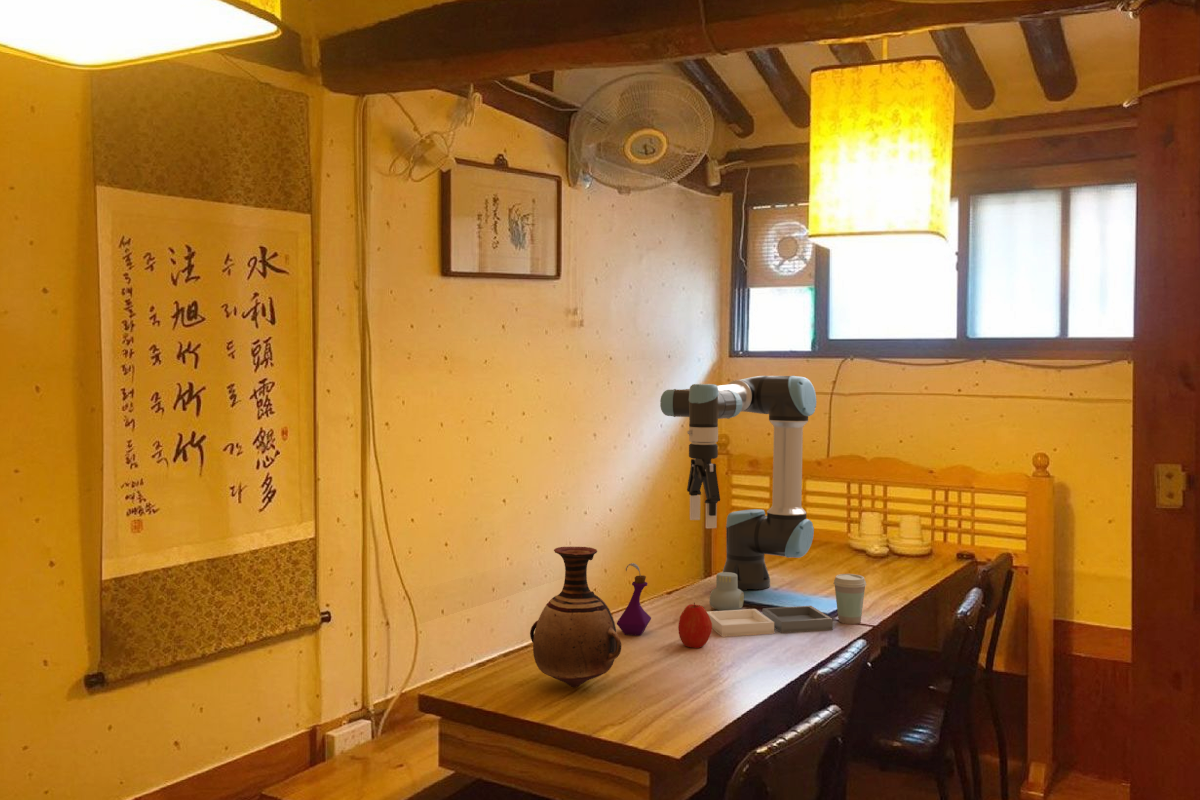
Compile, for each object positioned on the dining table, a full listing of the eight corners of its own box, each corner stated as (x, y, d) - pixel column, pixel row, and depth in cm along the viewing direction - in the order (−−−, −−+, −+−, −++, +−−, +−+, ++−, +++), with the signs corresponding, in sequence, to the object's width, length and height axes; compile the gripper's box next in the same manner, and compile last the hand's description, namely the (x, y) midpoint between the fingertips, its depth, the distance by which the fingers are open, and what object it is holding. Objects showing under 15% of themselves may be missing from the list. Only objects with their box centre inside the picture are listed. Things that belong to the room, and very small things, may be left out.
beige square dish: (705, 622, 274) (705, 611, 274) (755, 619, 277) (755, 608, 277) (722, 636, 260) (722, 625, 260) (774, 633, 263) (774, 622, 263)
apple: (716, 643, 254) (717, 601, 254) (702, 652, 247) (702, 608, 247) (686, 639, 258) (687, 597, 258) (672, 647, 251) (672, 604, 251)
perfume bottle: (651, 630, 267) (651, 561, 266) (645, 638, 259) (644, 567, 259) (623, 628, 269) (623, 560, 268) (616, 635, 261) (616, 565, 261)
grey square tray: (762, 619, 277) (762, 608, 277) (810, 616, 280) (811, 605, 280) (781, 633, 264) (781, 621, 263) (832, 629, 266) (832, 618, 266)
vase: (511, 684, 224) (510, 548, 222) (572, 666, 236) (572, 537, 235) (579, 708, 209) (578, 562, 207) (640, 687, 221) (640, 549, 220)
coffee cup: (866, 626, 270) (867, 581, 269) (833, 624, 271) (833, 579, 271) (865, 617, 278) (865, 574, 278) (832, 616, 280) (833, 572, 279)
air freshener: (737, 615, 281) (737, 579, 281) (708, 613, 284) (708, 577, 284) (745, 606, 292) (745, 571, 291) (716, 603, 294) (716, 569, 294)
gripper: (675, 439, 280) (675, 516, 281) (704, 447, 255) (704, 532, 256) (702, 439, 281) (701, 516, 282) (733, 446, 257) (732, 531, 258)
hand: (702, 523), depth 269 cm, fingers open, 13 cm apart
